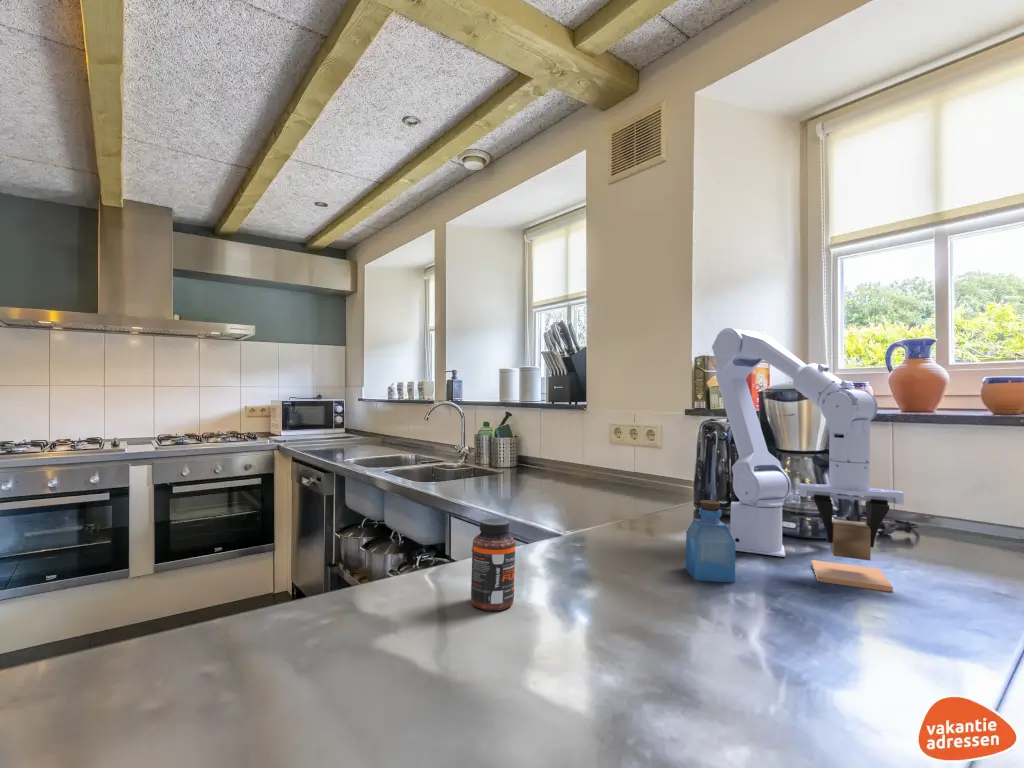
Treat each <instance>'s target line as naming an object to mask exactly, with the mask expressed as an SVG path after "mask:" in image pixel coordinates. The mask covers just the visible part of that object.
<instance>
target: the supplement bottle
mask: <svg viewBox="0 0 1024 768" xmlns="http://www.w3.org/2000/svg"><path fill="white" fill-rule="evenodd" d="M479 531H480V533H479V534H477V535H476V536H475V537H474V538H473V540H472V549H471V550H472V551H471V552H472V553H471V581H470V582H471V583H470V584H471V585H470V601H471V604H472V605H473V606H474V607H475V608H478V609H480V610H484V611H492V612H495V611H503V610H506V609H508V608H510V607H511V606H512V605H513V603H514V598H515V574H516V573H515V571H516V570H515V566H516V540H515V539H514V537H513V536H511V534H510V532H509V531H510V522H509V521H508V520H507V519H503V518H493V517H492V518H491V517H490V518H484V519H481V520H480V524H479Z"/></svg>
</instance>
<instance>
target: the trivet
mask: <svg viewBox="0 0 1024 768" xmlns="http://www.w3.org/2000/svg"><path fill="white" fill-rule="evenodd" d="M810 562H811V564H812V565H811V564H810V565H811V567H812V566H813V567H812V570H813V569H814V570H813V572H815V573H814V575H816V576H815V578H816V581H817V582H819V581H820V583H825V584H826V583H827V584H832V585H833V584H834V585H841V586H847V587H854V588H862V589H870V590H875V591H882V592H889V591H891V592H890V593H893V592H894V586H893V585H892V584H891V583H890V581H889V580H888V579H887V577H886V575H884V574H883V572H882V570H881V569H880V568H879V567H869V566H862V565H855V564H846V563H837V562H831V561H821V560H814V559H811V561H810Z"/></svg>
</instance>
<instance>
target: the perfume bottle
mask: <svg viewBox="0 0 1024 768" xmlns="http://www.w3.org/2000/svg"><path fill="white" fill-rule="evenodd" d="M700 506H701V507H699V509H698V514H699V515H700V518H694V519H693V520H692V522H691V523H690V525H689V527H688V529H687V530H686V533H685V534H686V535H685V536H686V539H685V569H686V570H687V572H688V574H690V576H691V577H692V578H693V580H694V581H705V582H720V583H721V582H724V583H735V582H736V551H735V541H734V540H733V538H732V536H731V534H730V532H729V530H730V529H729V528H728V526H727V525H726V524H725V523H724V522H722V521H721V519H720V518H721V517H722V509H720V506H721V502H720V501H718V500H712V499H711V500H710V499H702V500H700Z"/></svg>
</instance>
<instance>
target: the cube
mask: <svg viewBox="0 0 1024 768" xmlns="http://www.w3.org/2000/svg"><path fill="white" fill-rule="evenodd" d="M832 531H833V543H829V548H830V551H831V553H832V555H833V557H840V558H847V559H856V560H864V561H871V553H872V552H871V548H872V547H871V529H870V528H869V527H868V525H867V522H863V521H855V520H854V521H853V520H845V519H844V520H842V519H835V518H832Z"/></svg>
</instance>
